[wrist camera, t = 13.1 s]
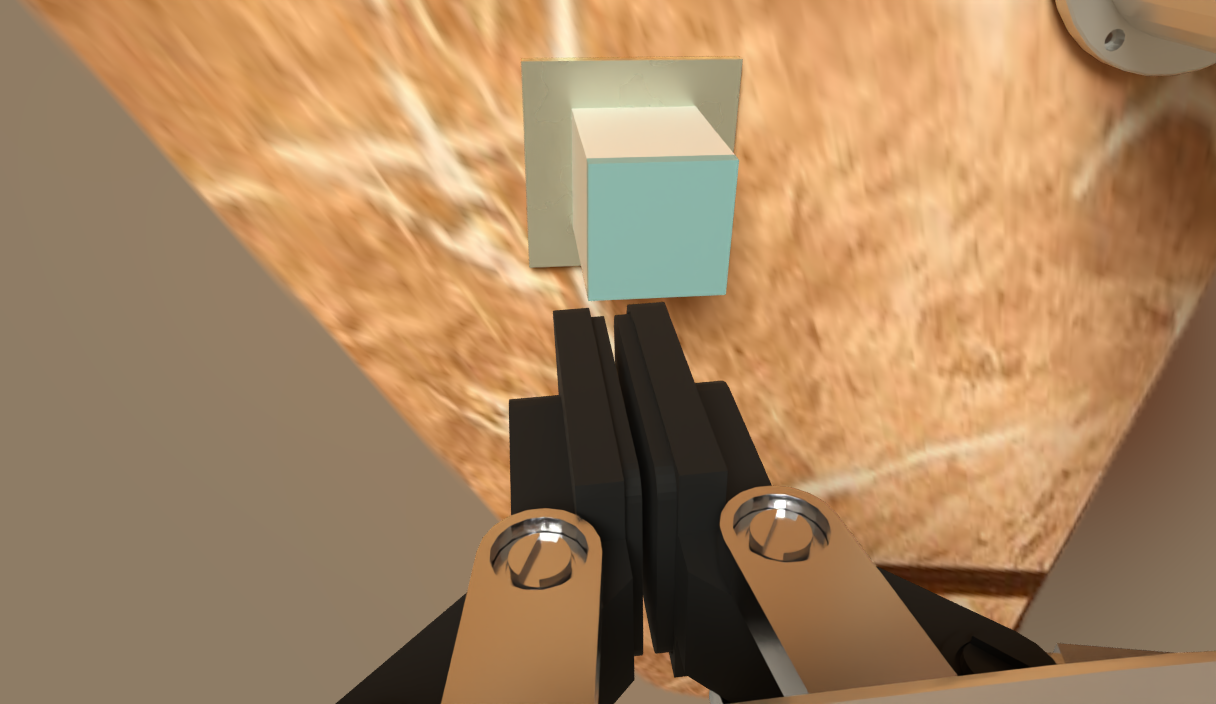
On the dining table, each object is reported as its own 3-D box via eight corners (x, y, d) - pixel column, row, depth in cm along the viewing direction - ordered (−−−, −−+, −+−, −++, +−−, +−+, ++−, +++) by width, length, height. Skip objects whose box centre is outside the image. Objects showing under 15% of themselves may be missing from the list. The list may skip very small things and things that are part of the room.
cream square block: (738, 55, 33) (784, 92, 28) (720, 254, 38) (755, 318, 33) (520, 58, 33) (525, 96, 27) (529, 261, 37) (534, 328, 32)
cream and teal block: (695, 106, 34) (738, 160, 28) (687, 222, 36) (725, 294, 30) (571, 108, 33) (588, 163, 27) (572, 226, 36) (588, 300, 30)
